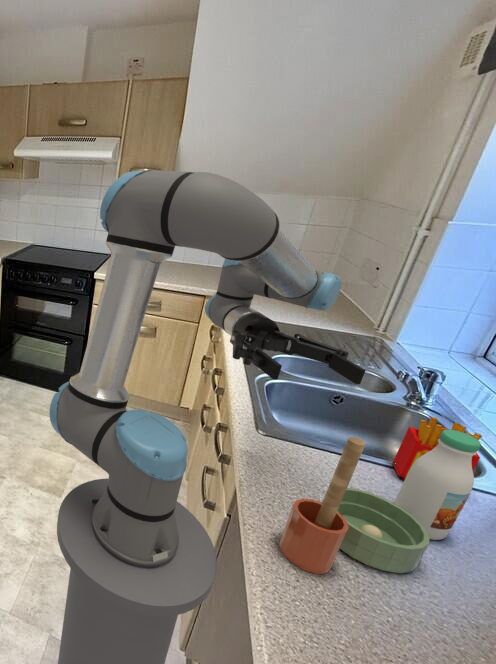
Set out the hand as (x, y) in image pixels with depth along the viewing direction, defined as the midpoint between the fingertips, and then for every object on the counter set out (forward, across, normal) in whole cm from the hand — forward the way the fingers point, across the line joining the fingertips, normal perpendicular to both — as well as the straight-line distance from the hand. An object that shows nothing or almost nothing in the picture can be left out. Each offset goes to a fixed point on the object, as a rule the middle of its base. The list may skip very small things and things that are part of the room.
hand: (319, 374), depth 70 cm
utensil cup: (+10, 0, -30) cm, 32 cm away
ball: (+6, -13, -28) cm, 31 cm away
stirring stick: (+10, 0, -30) cm, 31 cm away
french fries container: (-12, -39, -30) cm, 51 cm away
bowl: (+6, -13, -30) cm, 33 cm away
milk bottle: (+1, -26, -30) cm, 40 cm away
